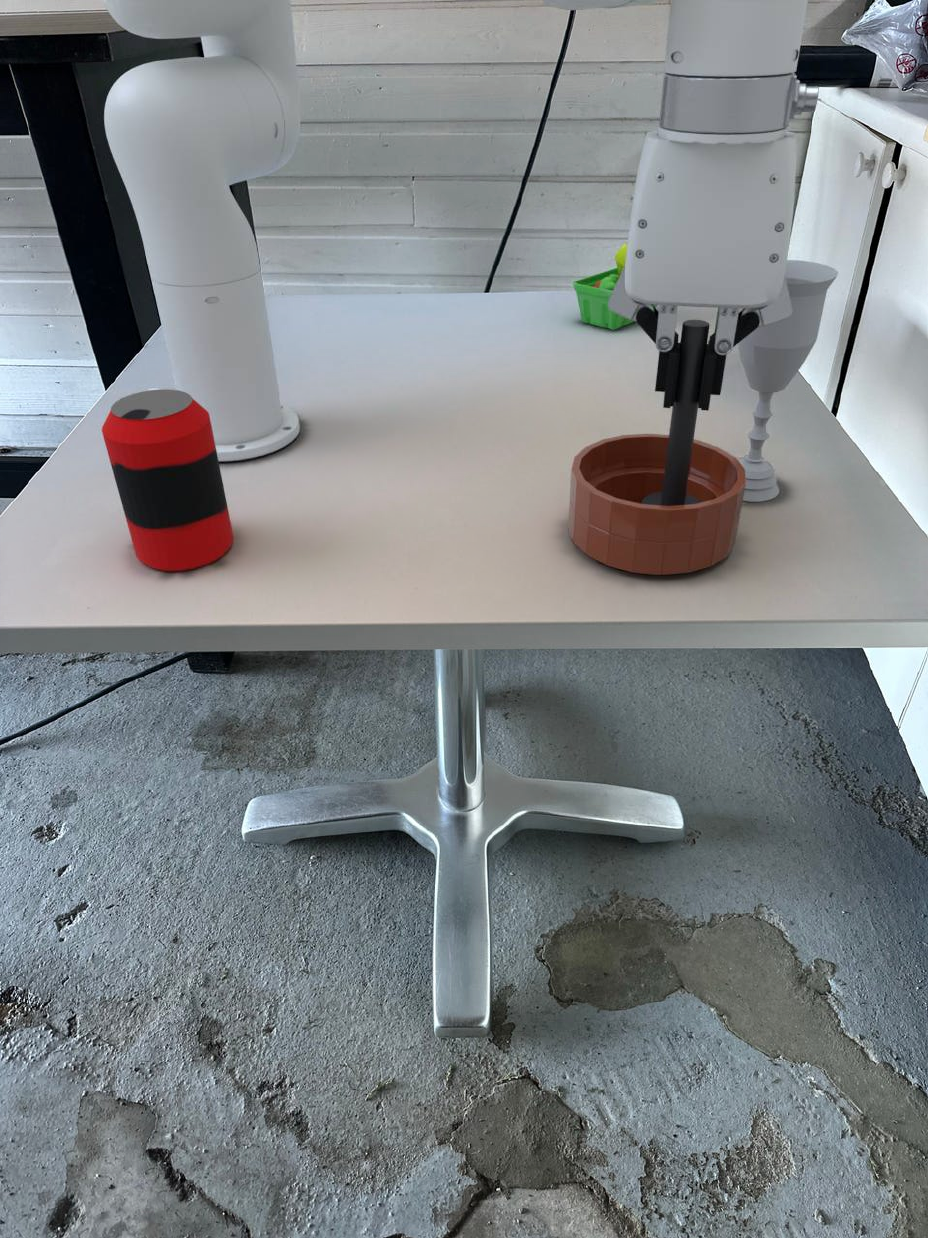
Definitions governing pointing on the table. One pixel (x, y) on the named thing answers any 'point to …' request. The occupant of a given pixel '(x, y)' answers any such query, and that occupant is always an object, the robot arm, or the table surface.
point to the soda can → (168, 479)
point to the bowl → (653, 506)
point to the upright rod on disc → (683, 417)
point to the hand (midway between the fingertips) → (686, 400)
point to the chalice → (780, 363)
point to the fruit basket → (601, 295)
